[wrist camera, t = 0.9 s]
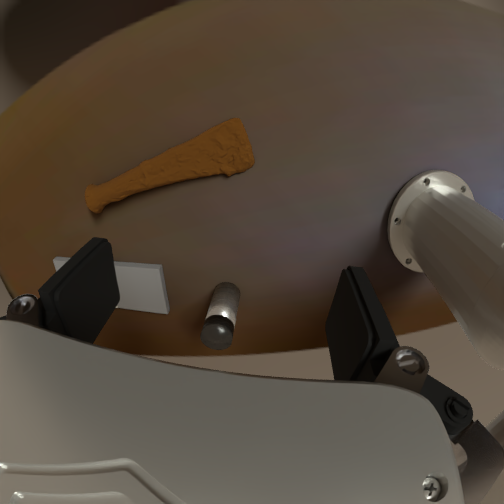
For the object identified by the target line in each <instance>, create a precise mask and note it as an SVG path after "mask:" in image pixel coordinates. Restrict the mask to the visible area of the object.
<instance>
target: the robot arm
mask: <svg viewBox="0 0 504 504" xmlns="http://www.w3.org/2000/svg"><path fill="white" fill-rule="evenodd" d="M424 179H425V180H424ZM395 219H396V220H395ZM387 232H388V240H389V244H390V247H391V249H392V251H393V253H394V255H395V256H396V258H397V259H398V260H399V262H400V263H401V264H402V265H404V266H405V267H406V268H408V269H410V270H412V271H416V272H424V273H425V274H426V276H427V277H428V278H429V280H430V281H431V283H432V284H433V285H434V287H435V288H436V290H437V291H438V292H439V294H440V295H441V297H442V298H443V300H444V301H445V303H446V304H447V306H448V307H449V309H450V310H451V312H452V313H453V315H454V316H455V318H456V319H457V321H458V323H459V324H460V325H461V327H462V329H463V330H464V332H465V334H466V336H467V337H468V339H469V341H470V342H471V343H472V345H473V347H474V349H475V350H476V352H477V353H478V355H479V356H480V357H481V359H483V361H484V362H486V363H487V364H488V365H489V366H491V367H494V368H496V369H499V370H504V220H502V219H501V218H499V217H498V216H496V215H495V214H493V213H492V212H491V211H489V210H488V209H486V208H484V207H483V206H481V205H480V204H478V203H477V202H475V201H474V198H473V195H472V192H471V190H470V189H469V187H468V185H467V184H466V183H465V182H464V181H463V180H462V179H461V178H460V177H458V176H457V175H455V174H453V173H451V172H448V171H444V170H430V171H426V172H423V173H421V174H419V175H417V176H415V177H414V178H413V179H411V180H410V181H409V182H408V183H407V184H406V185H405V186H404V187H403V188H402V189H401V190H400V192H399V194H398V195H397V197H396V198H395V200H394V203H393V205H392V207H391V210H390V214H389V218H388V227H387ZM38 292H39V295H40V298H39V299H37V297H36V296H34V295H32V294H24V295H21V296H18V297H17V298H15V299H14V300H13V301H11V302H10V304H9V305H8V308H7V315H6V316H3V317H1V318H0V504H504V410H503V411H502V412H501V413H500V414H499V415H498V416H497V417H496V418H495V419H494V420H493V421H491V422H490V423H489V424H488V425H487V426H486V427H484V426H483V425H482V424H481V423H480V422H479V421H478V420H476V421H475V422H474V421H473V420H472V417H473V410H472V407H471V405H470V403H469V402H468V400H467V399H465V398H464V397H463V396H461V395H460V394H458V393H457V392H455V391H453V390H452V389H450V388H449V387H447V386H445V385H444V384H442V383H441V382H439V381H437V380H436V379H434V378H433V377H431V376H429V375H428V371H429V363H428V361H427V359H426V357H425V356H424V355H423V354H422V353H421V352H420V351H418V350H417V349H414V348H412V347H408V346H401V347H400V346H399V344H398V341H397V339H396V336H395V334H394V332H393V329H392V327H391V325H390V322H389V320H388V318H387V316H386V313H385V311H384V309H383V307H382V305H381V303H380V302H379V300H378V298H377V296H376V294H375V291H374V289H373V287H372V285H371V283H370V281H369V279H368V277H367V275H366V273H365V271H364V269H363V268H362V267H353V266H348V267H347V269H343V270H342V273H341V276H340V279H339V283H338V286H337V289H336V293H335V296H334V299H333V302H332V305H331V309H330V312H329V315H328V318H327V321H326V326H325V329H326V335H327V340H328V346H329V351H330V356H331V362H332V368H333V374H334V380H316V379H314V380H313V379H297V378H283V377H271V376H260V375H250V374H241V373H233V372H226V371H219V370H211V369H205V368H199V367H193V366H186V365H181V364H175V363H170V362H165V361H161V360H156V359H151V358H147V357H142V356H138V355H134V354H129V353H125V352H121V351H117V350H113V349H110V348H106V347H102V346H99V345H95V344H93V343H94V341H95V339H96V338H97V336H98V334H99V333H100V331H101V330H102V328H103V326H104V325H105V323H106V322H107V320H108V319H109V317H110V316H111V314H112V312H113V311H114V309H115V308H116V306H117V305H118V303H119V301H120V292H119V287H118V282H117V277H116V272H115V266H114V260H113V254H112V247H111V244H110V243H109V242H108V240H107V239H105V238H97V237H94V238H92V239H91V240H90V241H89V242H88V243H87V244H85V245H84V246H83V247H82V248H81V249H80V250H79V251H78V252H77V253H76V254H74V255H73V256H72V257H71V258H70V259H69V260H68V261H67V262H66V263H65V264H64V265H63V266H62V267H61V268H60V269H59V270H58V271H57V272H56V273H55V274H54V275H53V276H52V277H51V278H50V279H49V280H48V281H47V282H46V283H45V284H44V285H43V286H42V287H41V288H40V289H39V290H38Z"/></svg>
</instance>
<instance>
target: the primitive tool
mask: <svg viewBox="0 0 504 504" xmlns="http://www.w3.org/2000/svg"><path fill="white" fill-rule="evenodd" d="M254 161H255V159H254V156H253V152H252V147H251V144H250V142H249V139H248V136H247V133H246V131H245V128H244V126H243V124H242V122H241V120H240V119H239V118H232V119H229V120H228V121H225V122H223V123H221V124H219V125H216V126H214V127H212V128H210V129H208V130H207V131H205V132H203V133H202V134H200V135H198V136H196V137H195V138H193V139H191V140H189V141H187V142H185V143H183V144H180V145H177V146H175V147H173V148H169V149H168V150H167V151H165V152H164V153H162V154H160V155H158V156H156V157H154V158H152V159H149V160H145V161H143V162H141V164H139V165H138V166H137V167H135V168H133V169H131V170H128V171H127V172H125V173H124V174H121V175H119V176H118V177H116V178H113V179H111V180H110V181H108V182H105V183H103V184H100V185H98V186H97V185H93V184H91V185H88V186H87V188H86V190H85V201H86V204H87V206H88V208H89V210H90V211H92V212H94V213H97V214H98V213H101V212H102V210H103V208H104V207H105V206H106V205H107V204H109V203H111V202H115V201H120V200H122V199H124V198H126V197H127V196H129V195H132V194H135V193H139V192H141V191H145V190H149V189H152V188H156V187H159V186H163V185H167V184H173V183H175V182H182V181H184V180H187V179H189V180H190V179H195V178H198V177H205V176H211V175H216V174H226V175H227V176H228V177H229V176H231V175H232V174H235V173H240V172H244V171H246V170H247V169H249V168H251V167H252V166H253V165H254V163H255V162H254Z"/></svg>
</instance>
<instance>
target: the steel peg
mask: <svg viewBox="0 0 504 504" xmlns="http://www.w3.org/2000/svg"><path fill="white" fill-rule="evenodd" d="M239 299H240V290H239V288H238V287H237V286H236V285H234V284H232V283H229V282H223V283H220V284H218V285H217V286H216V288H215V290H214V293H213V296H212V300H211V303H210V306H209V309H208V313H207V316H206V319H205V322H204V326H203V329H202V332H201V336H200V337H201V341H202V342H203V343H204V344H205V345H206V346H207V347H209V348H212V349H216V350H222V349H226V348H228V347H229V346H230V345H231V343H232V337H233V332H234V326H235V321H236V315H237V310H238V305H239Z"/></svg>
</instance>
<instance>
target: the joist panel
mask: <svg viewBox="0 0 504 504" xmlns="http://www.w3.org/2000/svg"><path fill="white" fill-rule="evenodd" d="M69 259H70V258H65V257H56V258H55V259H53V262H54V265H55V268H56V271H58V270H59V269H60V268H61V267H62V266H63V265H64V264H65V263H66V262H67V261H68V260H69ZM114 266H115V272H116V277H117V282H118V287H119V292H120V301H119V303H118V305H117V306H116V308H124V309H131V310H138V311H146V312H154V313H162V314H168V312H169V310H170V307H169V302H168V297H167V292H166V286H165V281H164V275H163V269H162V265H158V264H143V263H129V262H115V261H114Z"/></svg>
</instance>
